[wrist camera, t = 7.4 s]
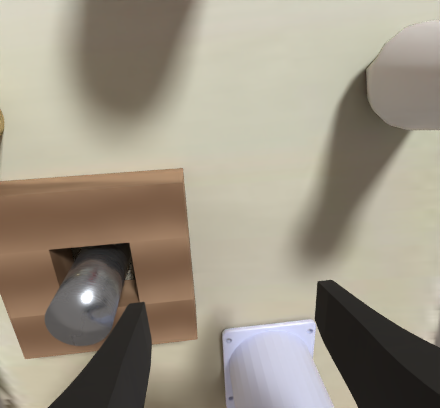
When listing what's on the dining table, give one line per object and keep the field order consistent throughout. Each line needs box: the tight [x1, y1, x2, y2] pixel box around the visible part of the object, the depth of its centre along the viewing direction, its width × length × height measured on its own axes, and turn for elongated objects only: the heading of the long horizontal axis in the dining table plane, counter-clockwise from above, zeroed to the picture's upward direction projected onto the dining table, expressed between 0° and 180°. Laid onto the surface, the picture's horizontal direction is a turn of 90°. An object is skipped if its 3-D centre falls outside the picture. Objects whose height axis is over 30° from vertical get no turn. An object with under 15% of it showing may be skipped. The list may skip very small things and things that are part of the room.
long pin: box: [45, 243, 132, 346], centre depth 20 cm, size 3×3×7 cm
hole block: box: [0, 168, 197, 359], centre depth 22 cm, size 12×12×3 cm
